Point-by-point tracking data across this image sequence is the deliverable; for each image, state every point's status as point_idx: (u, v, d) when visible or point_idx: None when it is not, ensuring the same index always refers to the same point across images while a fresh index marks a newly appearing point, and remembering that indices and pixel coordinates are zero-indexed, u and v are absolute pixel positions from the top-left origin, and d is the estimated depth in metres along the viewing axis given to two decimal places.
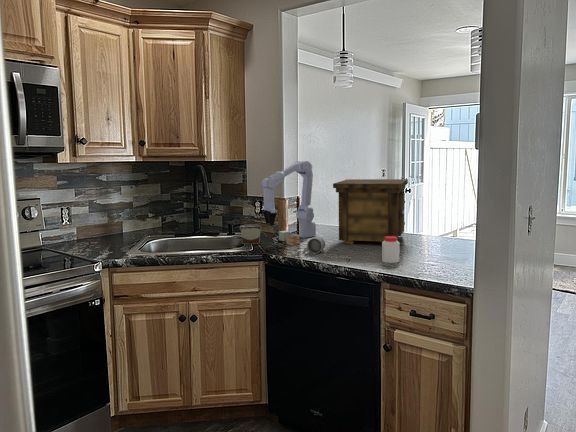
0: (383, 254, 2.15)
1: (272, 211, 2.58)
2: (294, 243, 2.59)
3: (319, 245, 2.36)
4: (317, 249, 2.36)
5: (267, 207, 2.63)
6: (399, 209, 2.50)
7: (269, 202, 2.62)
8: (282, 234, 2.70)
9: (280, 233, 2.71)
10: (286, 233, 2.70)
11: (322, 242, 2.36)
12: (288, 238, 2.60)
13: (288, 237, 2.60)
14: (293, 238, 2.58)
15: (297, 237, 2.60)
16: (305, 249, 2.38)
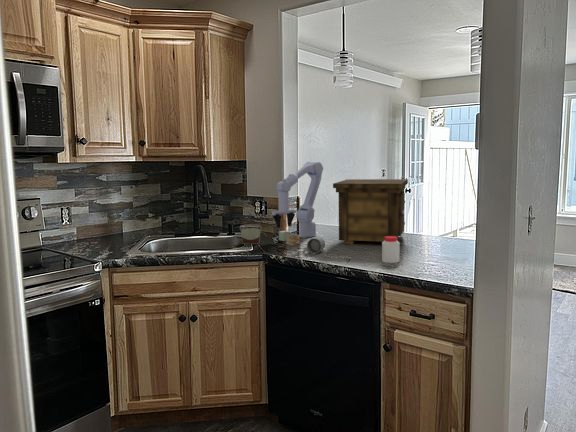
0: (383, 254, 2.15)
1: (272, 213, 2.67)
2: (294, 243, 2.59)
3: (319, 245, 2.36)
4: (317, 249, 2.36)
5: None
6: (399, 209, 2.50)
7: (279, 205, 2.69)
8: (282, 234, 2.70)
9: (280, 233, 2.71)
10: (286, 233, 2.70)
11: (322, 242, 2.36)
12: (288, 238, 2.60)
13: (288, 237, 2.60)
14: (293, 238, 2.58)
15: (297, 237, 2.59)
16: (305, 249, 2.38)
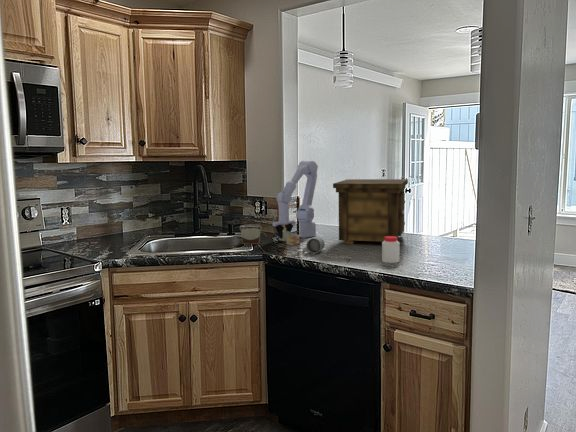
0: (383, 254, 2.15)
1: (273, 224, 2.67)
2: (294, 243, 2.59)
3: (318, 245, 2.36)
4: (316, 249, 2.36)
5: (279, 220, 2.71)
6: (399, 209, 2.50)
7: (279, 216, 2.70)
8: None
9: None
10: (286, 233, 2.70)
11: (321, 242, 2.36)
12: (288, 238, 2.60)
13: (288, 237, 2.60)
14: (293, 238, 2.58)
15: (297, 237, 2.60)
16: (304, 249, 2.38)
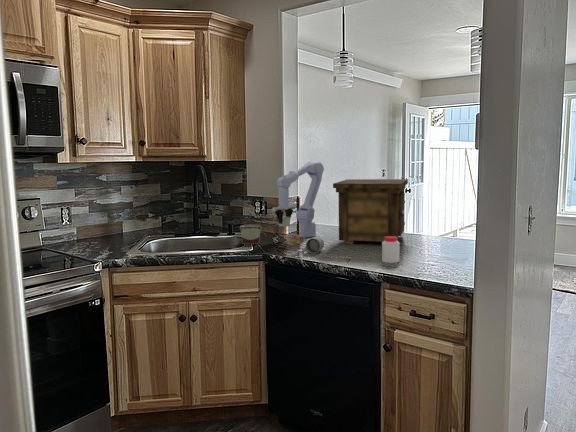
0: (383, 254, 2.15)
1: (272, 209, 2.66)
2: (294, 243, 2.59)
3: (318, 245, 2.36)
4: (315, 249, 2.36)
5: None
6: (399, 209, 2.50)
7: (279, 200, 2.68)
8: (282, 219, 2.68)
9: None
10: (286, 218, 2.69)
11: (321, 242, 2.36)
12: (288, 238, 2.60)
13: (288, 237, 2.60)
14: (293, 238, 2.58)
15: (297, 237, 2.60)
16: (304, 249, 2.39)
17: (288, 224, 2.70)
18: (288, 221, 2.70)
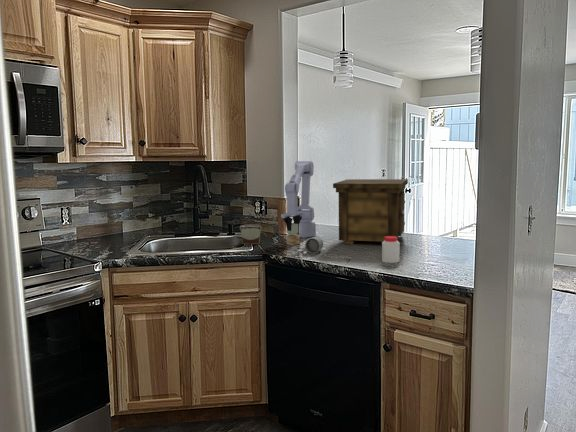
0: (383, 254, 2.15)
1: (281, 216, 2.55)
2: (294, 243, 2.59)
3: (317, 245, 2.36)
4: (315, 249, 2.36)
5: (287, 212, 2.59)
6: (399, 209, 2.50)
7: (287, 207, 2.57)
8: None
9: None
10: (294, 225, 2.58)
11: (320, 242, 2.36)
12: (288, 238, 2.60)
13: (288, 237, 2.60)
14: (293, 238, 2.58)
15: (297, 237, 2.60)
16: (303, 249, 2.39)
17: (296, 231, 2.60)
18: (296, 228, 2.59)
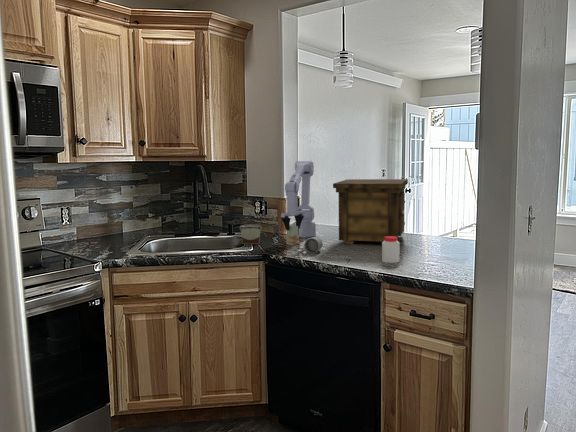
0: (383, 254, 2.15)
1: (281, 215, 2.55)
2: (294, 243, 2.59)
3: (316, 245, 2.36)
4: (314, 249, 2.37)
5: (287, 211, 2.59)
6: (399, 209, 2.50)
7: (287, 206, 2.57)
8: (290, 229, 2.58)
9: None
10: (294, 228, 2.58)
11: (319, 242, 2.36)
12: (288, 238, 2.60)
13: (288, 237, 2.60)
14: (293, 238, 2.58)
15: (297, 237, 2.59)
16: (302, 249, 2.39)
17: (297, 233, 2.60)
18: (296, 230, 2.60)
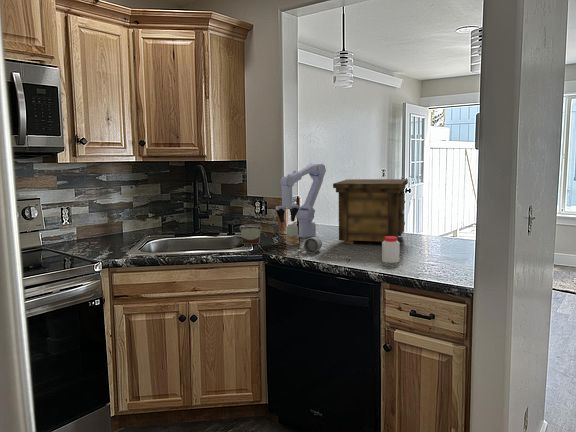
0: (383, 254, 2.15)
1: (276, 208, 2.66)
2: (293, 243, 2.58)
3: (316, 245, 2.36)
4: (313, 249, 2.37)
5: (282, 204, 2.70)
6: (399, 209, 2.50)
7: (282, 199, 2.69)
8: (290, 229, 2.58)
9: (288, 228, 2.59)
10: (294, 228, 2.58)
11: (319, 242, 2.36)
12: (287, 238, 2.60)
13: (287, 237, 2.60)
14: (292, 238, 2.58)
15: (296, 237, 2.59)
16: (302, 249, 2.39)
17: (296, 233, 2.60)
18: (296, 230, 2.59)
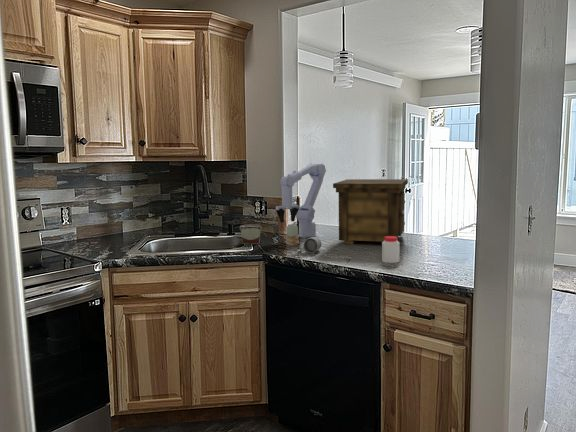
0: (383, 254, 2.15)
1: (276, 208, 2.66)
2: (293, 243, 2.58)
3: (315, 245, 2.37)
4: (313, 249, 2.37)
5: (282, 204, 2.70)
6: (399, 209, 2.50)
7: (282, 199, 2.69)
8: (290, 229, 2.58)
9: (288, 228, 2.59)
10: (294, 228, 2.58)
11: (318, 242, 2.37)
12: (287, 238, 2.60)
13: (287, 237, 2.60)
14: (292, 238, 2.58)
15: (296, 237, 2.59)
16: (301, 249, 2.39)
17: (296, 233, 2.60)
18: (296, 230, 2.59)
